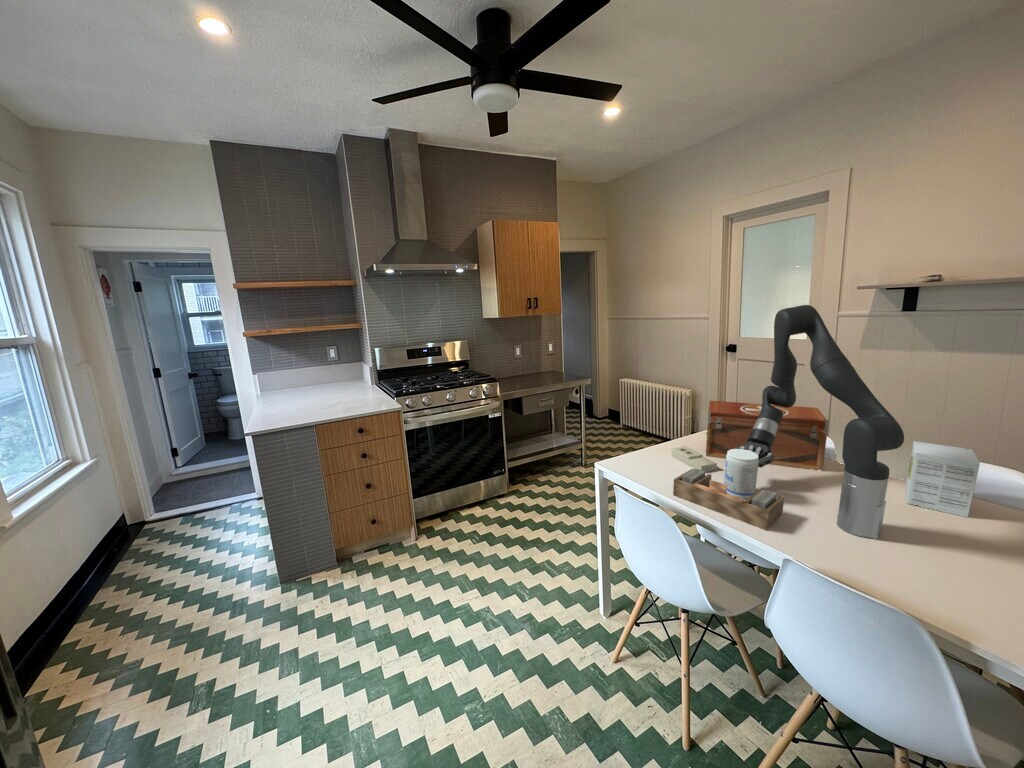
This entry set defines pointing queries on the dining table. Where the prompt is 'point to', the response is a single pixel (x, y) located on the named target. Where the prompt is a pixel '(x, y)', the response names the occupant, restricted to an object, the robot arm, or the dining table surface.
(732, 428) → the wooden box
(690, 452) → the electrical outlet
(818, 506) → the dining table surface
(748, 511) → the rack
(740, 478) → the supplement tub
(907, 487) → the supplement box
